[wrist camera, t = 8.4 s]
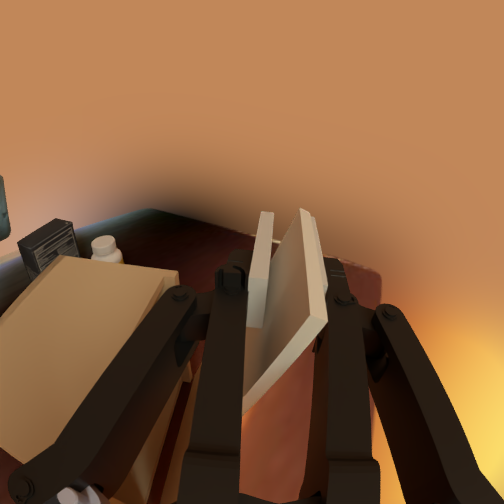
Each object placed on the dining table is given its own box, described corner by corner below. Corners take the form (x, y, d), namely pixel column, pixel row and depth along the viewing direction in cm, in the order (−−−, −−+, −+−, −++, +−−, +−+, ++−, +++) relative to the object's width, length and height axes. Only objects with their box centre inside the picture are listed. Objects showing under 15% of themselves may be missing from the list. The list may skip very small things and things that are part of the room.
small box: (67, 261, 53) (55, 216, 47) (86, 269, 51) (74, 221, 46) (32, 288, 44) (15, 240, 38) (49, 299, 42) (31, 248, 37)
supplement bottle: (120, 278, 50) (110, 230, 45) (135, 291, 47) (125, 240, 42) (95, 290, 46) (82, 241, 41) (109, 305, 43) (94, 254, 38)
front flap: (154, 523, 16) (313, 529, 3) (194, 375, 33) (295, 176, 20) (160, 525, 16) (341, 527, 3) (199, 376, 33) (303, 180, 20)
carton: (37, 473, 17) (-56, 394, 9) (97, 353, 34) (59, 254, 26) (151, 524, 16) (77, 494, 8) (192, 376, 33) (178, 271, 25)
